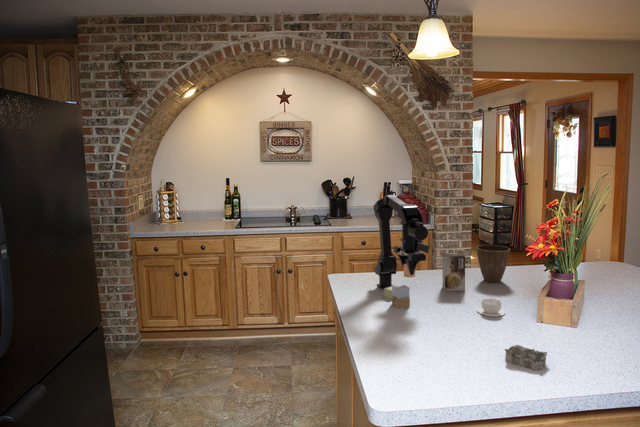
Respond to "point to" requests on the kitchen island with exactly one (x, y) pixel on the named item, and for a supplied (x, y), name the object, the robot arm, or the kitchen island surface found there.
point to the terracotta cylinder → (407, 271)
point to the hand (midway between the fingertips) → (409, 273)
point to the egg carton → (519, 352)
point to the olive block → (388, 292)
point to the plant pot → (492, 261)
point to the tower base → (401, 302)
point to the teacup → (491, 307)
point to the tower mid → (400, 291)
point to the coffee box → (453, 272)
